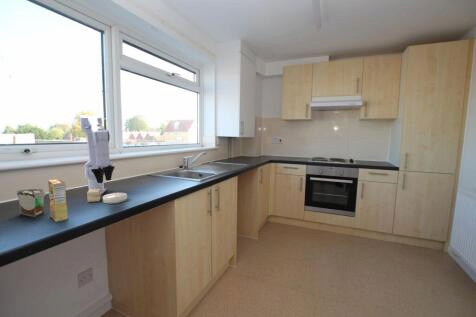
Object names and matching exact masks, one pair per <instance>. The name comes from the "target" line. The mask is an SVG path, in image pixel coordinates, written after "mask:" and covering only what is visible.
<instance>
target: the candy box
mask: <svg viewBox="0 0 476 317" xmlns="http://www.w3.org/2000/svg"><path fill="white" fill-rule="evenodd" d="M47 182H48V196H49V198H48V199H49V208H50V210H49V211H50V217H51V218H52V219H53V221H54V222H56V223H57V222H60V221H66V220H68V206H67V203H68V202H67V190H66V188H67V187H66V182H65V181H63V180H61V179H59V178H58V179H49V180H48V181H47Z"/></svg>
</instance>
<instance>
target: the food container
mask: <svg viewBox="0 0 476 317" xmlns="http://www.w3.org/2000/svg"><path fill="white" fill-rule="evenodd" d="M46 194H47V193H46V192H45V190H44V189H43V188H28V189H20V190H17V191H16V196H17V198H18V203H19V204H18V206H19V210H20V215H24V216H29V217H34V218H36V217H39V216H42V215H43V214H44V208H45V206H44V204H45V203H44V202H45V198H44V197H45V196H46Z"/></svg>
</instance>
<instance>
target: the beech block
mask: <svg viewBox="0 0 476 317" xmlns="http://www.w3.org/2000/svg"><path fill="white" fill-rule="evenodd" d="M86 198H87V203H90V202H91V203H92V202H99V201H100V200H101V198H102V193H101V190H100V189H97V190H89V189H88V191H87V192H86Z"/></svg>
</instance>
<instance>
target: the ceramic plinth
mask: <svg viewBox="0 0 476 317" xmlns="http://www.w3.org/2000/svg"><path fill="white" fill-rule="evenodd" d="M126 201H128V194H127V193H126V192H112V193H108V194H105V195H103V196H102V202H103V203H104V204H110V205H111V204H120V203H123V202H126Z"/></svg>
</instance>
